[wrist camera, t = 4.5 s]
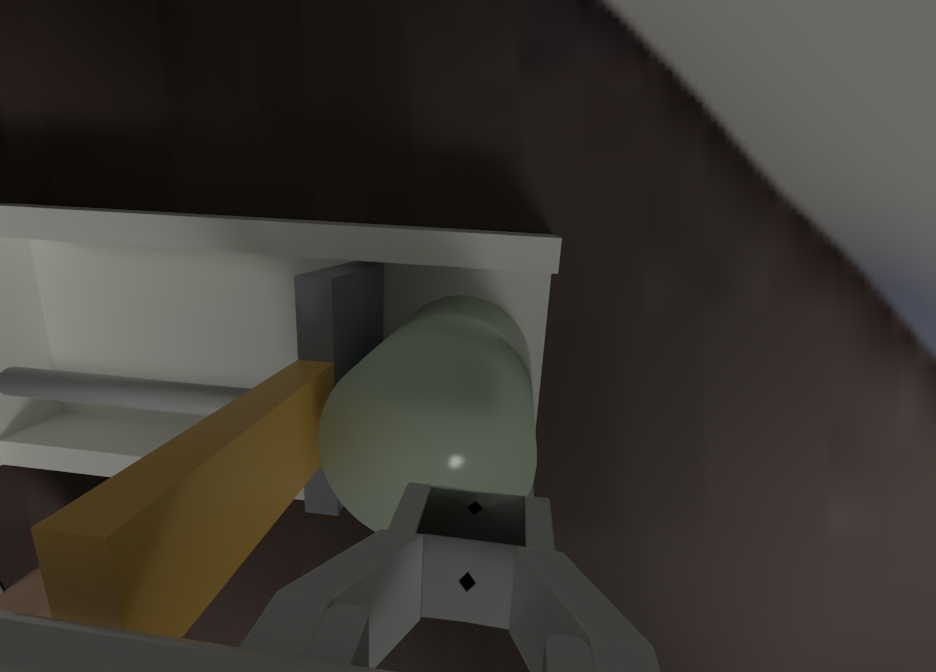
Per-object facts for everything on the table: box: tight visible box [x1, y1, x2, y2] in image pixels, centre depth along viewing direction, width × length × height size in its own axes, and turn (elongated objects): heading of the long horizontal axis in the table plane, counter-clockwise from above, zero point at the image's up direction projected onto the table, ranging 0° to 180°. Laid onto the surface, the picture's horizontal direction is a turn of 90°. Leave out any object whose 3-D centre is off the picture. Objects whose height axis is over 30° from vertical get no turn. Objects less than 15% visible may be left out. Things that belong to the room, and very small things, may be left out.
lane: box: [0, 203, 562, 500], centre depth 19 cm, size 25×11×6 cm, turn 87°
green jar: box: [318, 295, 537, 532], centre depth 16 cm, size 6×6×8 cm
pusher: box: [0, 261, 384, 638], centre depth 14 cm, size 11×8×14 cm
